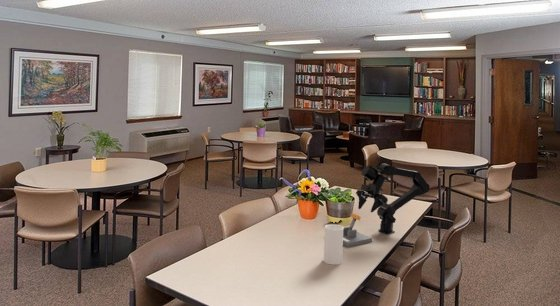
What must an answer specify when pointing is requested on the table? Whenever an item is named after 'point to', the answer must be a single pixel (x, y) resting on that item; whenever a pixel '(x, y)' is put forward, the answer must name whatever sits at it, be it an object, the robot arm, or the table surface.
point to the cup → (333, 244)
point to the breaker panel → (354, 237)
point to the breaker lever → (353, 221)
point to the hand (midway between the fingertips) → (365, 210)
